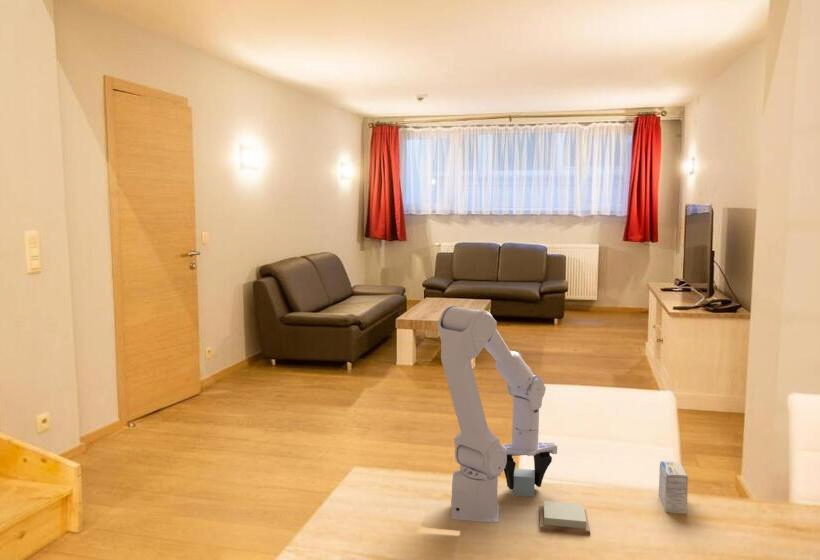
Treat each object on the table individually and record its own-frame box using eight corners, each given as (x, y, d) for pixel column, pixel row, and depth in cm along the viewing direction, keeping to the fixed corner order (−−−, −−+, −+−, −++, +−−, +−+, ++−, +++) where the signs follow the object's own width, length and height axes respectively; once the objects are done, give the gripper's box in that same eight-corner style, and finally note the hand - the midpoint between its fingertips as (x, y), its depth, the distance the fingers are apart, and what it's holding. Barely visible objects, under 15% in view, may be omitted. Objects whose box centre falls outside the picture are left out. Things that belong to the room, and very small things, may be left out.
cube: (513, 496, 146) (513, 476, 145) (513, 487, 150) (514, 468, 150) (534, 497, 145) (534, 477, 144) (533, 489, 149) (534, 469, 149)
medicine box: (687, 516, 136) (689, 476, 135) (664, 514, 137) (666, 474, 136) (679, 500, 144) (681, 461, 143) (657, 498, 145) (659, 460, 144)
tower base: (539, 534, 130) (540, 526, 130) (539, 512, 139) (539, 505, 139) (589, 538, 128) (590, 531, 128) (585, 516, 138) (585, 509, 138)
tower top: (544, 524, 131) (544, 517, 130) (543, 507, 138) (543, 500, 138) (586, 528, 129) (586, 521, 129) (583, 510, 137) (583, 503, 137)
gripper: (500, 435, 140) (498, 496, 142) (563, 430, 143) (562, 491, 145) (489, 424, 147) (488, 483, 149) (550, 420, 150) (548, 478, 152)
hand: (523, 486), depth 147 cm, fingers closed on cube, 6 cm apart
